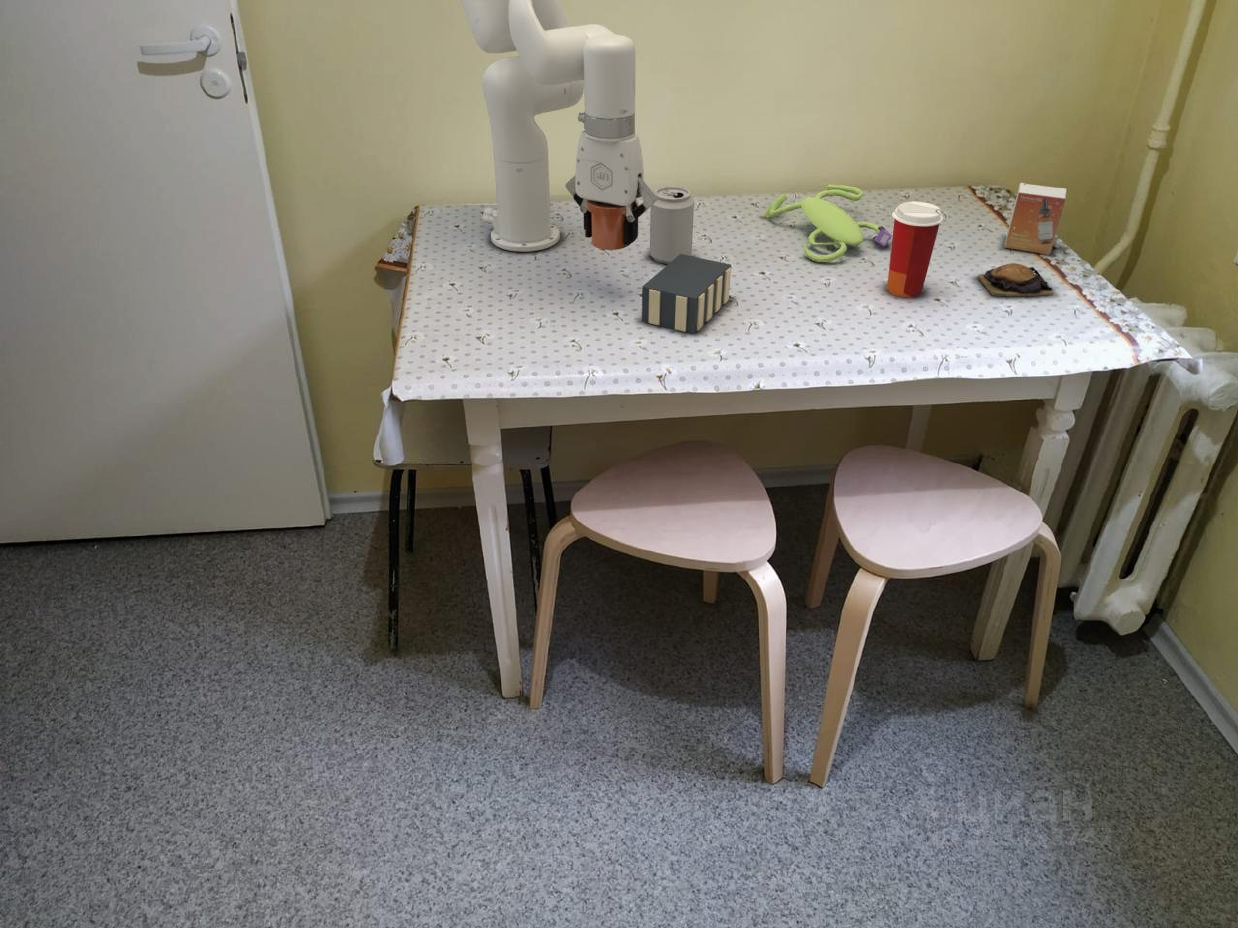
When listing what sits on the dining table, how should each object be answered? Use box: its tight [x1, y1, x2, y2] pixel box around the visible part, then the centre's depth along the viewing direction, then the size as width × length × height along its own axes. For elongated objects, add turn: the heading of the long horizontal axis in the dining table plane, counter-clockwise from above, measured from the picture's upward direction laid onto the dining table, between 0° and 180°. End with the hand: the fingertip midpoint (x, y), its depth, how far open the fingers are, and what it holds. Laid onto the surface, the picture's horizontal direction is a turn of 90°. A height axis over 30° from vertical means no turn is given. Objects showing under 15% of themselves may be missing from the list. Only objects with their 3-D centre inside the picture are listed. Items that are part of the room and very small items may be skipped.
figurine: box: [764, 183, 893, 263], centre depth 183 cm, size 18×27×6 cm
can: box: [649, 185, 695, 265], centre depth 172 cm, size 8×8×12 cm
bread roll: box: [977, 262, 1054, 298], centre depth 165 cm, size 11×8×4 cm
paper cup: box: [886, 201, 944, 298], centre depth 160 cm, size 8×8×14 cm
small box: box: [1004, 182, 1068, 256], centre depth 177 cm, size 8×6×10 cm
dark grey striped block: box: [641, 254, 732, 335], centre depth 157 cm, size 9×14×6 cm, turn 152°
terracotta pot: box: [587, 200, 634, 251], centre depth 157 cm, size 7×7×7 cm
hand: (610, 237), depth 159 cm, fingers closed on terracotta pot, 6 cm apart
